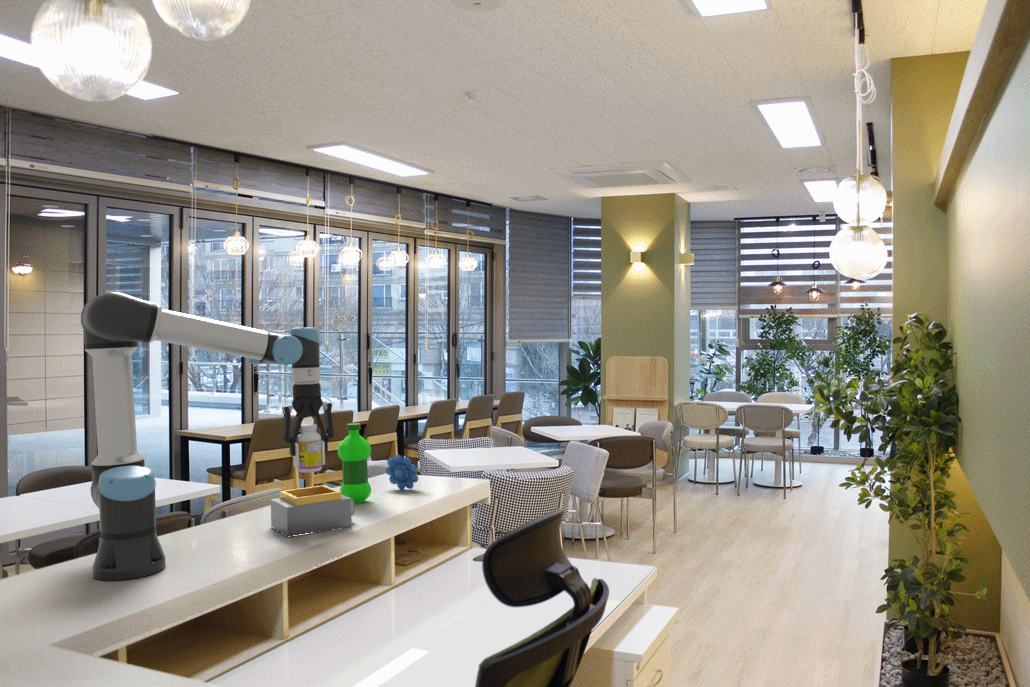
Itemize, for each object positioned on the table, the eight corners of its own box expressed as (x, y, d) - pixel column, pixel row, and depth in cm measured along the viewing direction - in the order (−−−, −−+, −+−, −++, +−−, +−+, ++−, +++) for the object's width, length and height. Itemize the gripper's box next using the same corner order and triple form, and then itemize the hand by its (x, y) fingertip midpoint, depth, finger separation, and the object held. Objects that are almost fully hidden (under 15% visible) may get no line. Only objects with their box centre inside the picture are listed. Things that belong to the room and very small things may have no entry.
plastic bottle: (357, 506, 246) (355, 426, 246) (332, 503, 252) (330, 425, 251) (378, 500, 255) (376, 422, 254) (354, 497, 260) (352, 421, 260)
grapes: (381, 491, 269) (380, 456, 269) (388, 487, 276) (387, 453, 275) (414, 492, 267) (413, 456, 266) (420, 488, 273) (419, 453, 273)
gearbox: (287, 537, 210) (286, 500, 210) (271, 527, 222) (270, 492, 222) (361, 525, 222) (360, 489, 222) (342, 516, 234) (341, 482, 234)
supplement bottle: (294, 470, 221) (292, 424, 221) (317, 467, 225) (316, 422, 224) (301, 474, 216) (299, 426, 215) (325, 471, 219) (323, 424, 219)
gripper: (275, 385, 211) (278, 471, 212) (345, 381, 222) (348, 463, 222) (267, 384, 217) (270, 468, 218) (335, 380, 228) (338, 459, 229)
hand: (309, 465), depth 220 cm, fingers closed on supplement bottle, 7 cm apart
